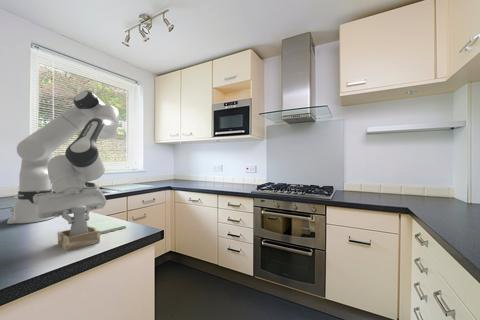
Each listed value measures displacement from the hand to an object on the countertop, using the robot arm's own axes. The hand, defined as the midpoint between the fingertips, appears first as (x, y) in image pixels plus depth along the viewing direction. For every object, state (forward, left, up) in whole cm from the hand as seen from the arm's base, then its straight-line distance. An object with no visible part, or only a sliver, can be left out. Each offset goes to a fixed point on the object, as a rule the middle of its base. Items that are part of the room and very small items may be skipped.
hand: (79, 221), depth 76 cm
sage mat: (-12, +12, -8) cm, 18 cm away
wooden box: (-1, 0, -8) cm, 8 cm away
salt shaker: (-1, 0, -8) cm, 8 cm away
